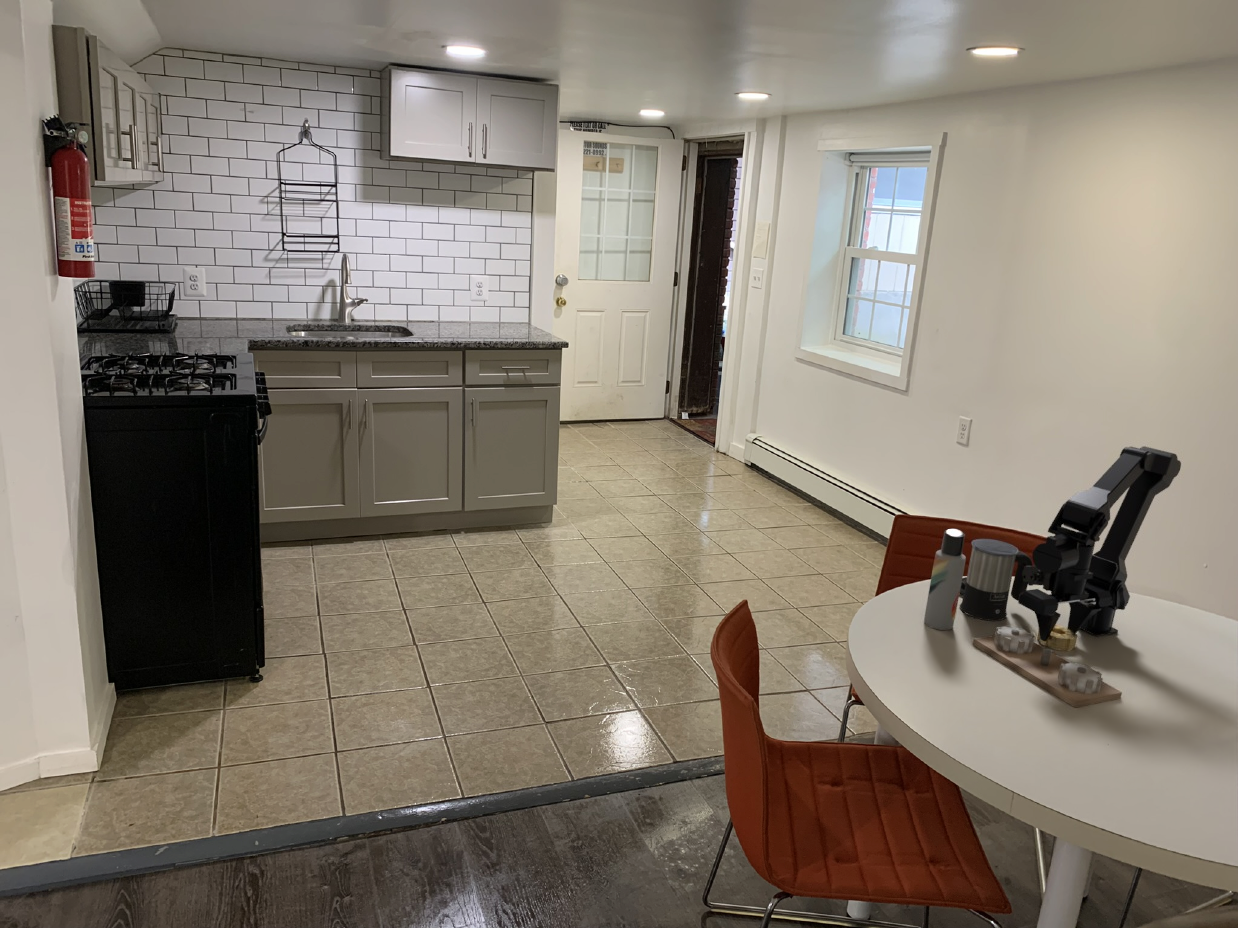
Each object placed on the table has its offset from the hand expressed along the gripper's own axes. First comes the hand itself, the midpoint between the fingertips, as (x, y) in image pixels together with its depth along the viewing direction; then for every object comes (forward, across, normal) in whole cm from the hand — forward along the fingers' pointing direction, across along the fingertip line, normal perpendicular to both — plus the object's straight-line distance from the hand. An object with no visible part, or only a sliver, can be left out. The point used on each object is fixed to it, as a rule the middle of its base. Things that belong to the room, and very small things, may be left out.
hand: (1056, 637), depth 181 cm
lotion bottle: (+1, +18, -13) cm, 22 cm away
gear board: (+1, +12, +8) cm, 14 cm away
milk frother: (+1, +2, -19) cm, 19 cm away
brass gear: (+1, 0, 0) cm, 1 cm away
